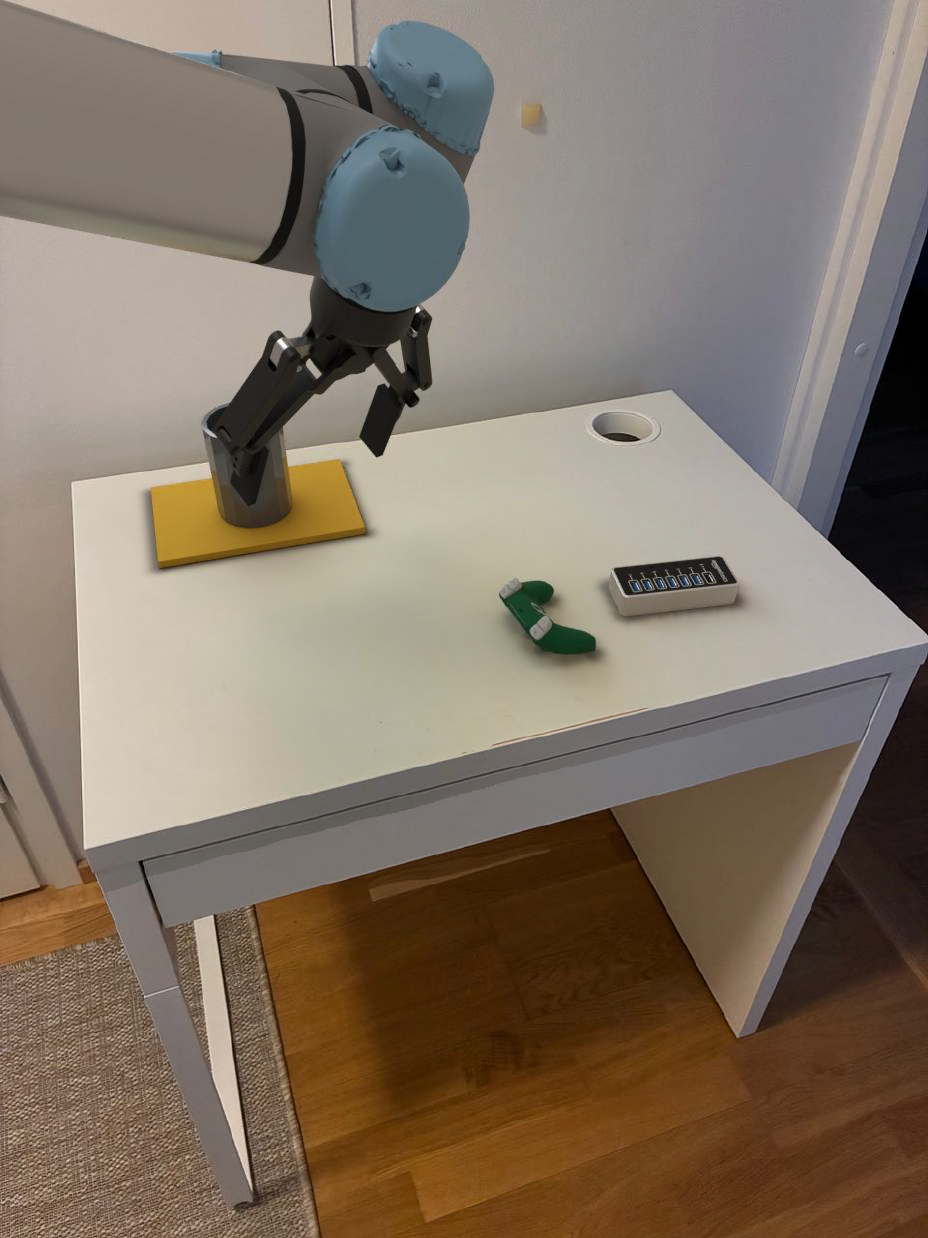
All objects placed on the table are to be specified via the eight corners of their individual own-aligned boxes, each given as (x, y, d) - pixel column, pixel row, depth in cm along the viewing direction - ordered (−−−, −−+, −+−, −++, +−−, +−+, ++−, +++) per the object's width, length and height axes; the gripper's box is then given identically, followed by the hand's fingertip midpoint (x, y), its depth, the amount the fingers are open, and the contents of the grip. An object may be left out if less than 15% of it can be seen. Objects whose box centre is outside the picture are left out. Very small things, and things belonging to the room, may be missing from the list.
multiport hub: (607, 586, 90) (610, 566, 88) (718, 573, 91) (722, 554, 90) (621, 617, 87) (624, 597, 85) (736, 603, 88) (741, 584, 87)
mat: (159, 568, 91) (157, 561, 91) (152, 493, 100) (150, 487, 100) (365, 533, 96) (365, 527, 95) (340, 464, 105) (339, 458, 104)
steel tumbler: (222, 533, 94) (205, 445, 87) (215, 492, 99) (198, 406, 93) (297, 521, 96) (286, 433, 89) (286, 481, 101) (274, 395, 94)
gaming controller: (524, 612, 90) (484, 590, 85) (551, 582, 89) (512, 559, 84) (574, 676, 83) (533, 656, 79) (604, 645, 82) (564, 622, 78)
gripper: (250, 347, 59) (207, 550, 75) (529, 272, 73) (441, 457, 89) (184, 266, 61) (157, 481, 77) (469, 208, 75) (394, 400, 91)
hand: (309, 468), depth 83 cm, fingers open, 13 cm apart
